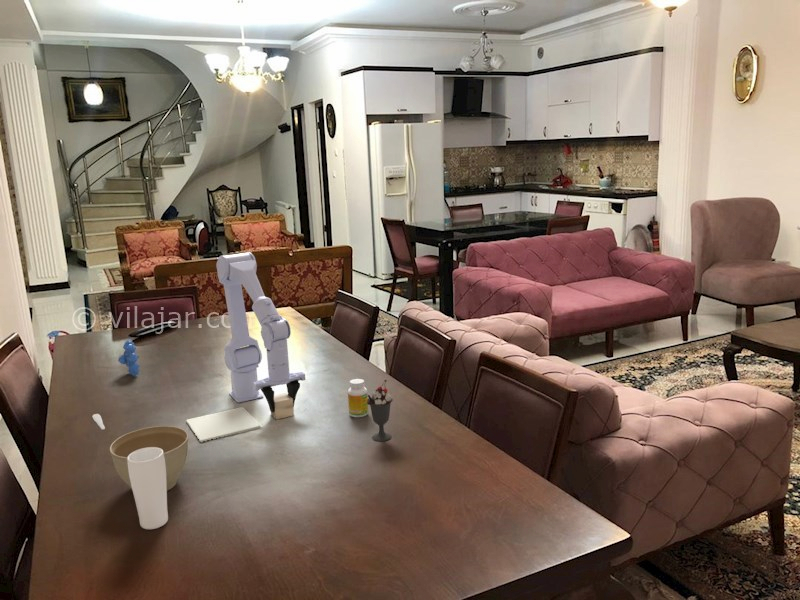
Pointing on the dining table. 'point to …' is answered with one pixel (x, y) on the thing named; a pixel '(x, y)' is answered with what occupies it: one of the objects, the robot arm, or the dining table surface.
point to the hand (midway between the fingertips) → (281, 408)
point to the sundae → (380, 411)
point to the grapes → (130, 358)
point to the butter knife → (98, 420)
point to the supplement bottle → (357, 398)
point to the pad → (222, 424)
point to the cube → (283, 406)
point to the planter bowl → (160, 437)
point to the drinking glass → (149, 486)
